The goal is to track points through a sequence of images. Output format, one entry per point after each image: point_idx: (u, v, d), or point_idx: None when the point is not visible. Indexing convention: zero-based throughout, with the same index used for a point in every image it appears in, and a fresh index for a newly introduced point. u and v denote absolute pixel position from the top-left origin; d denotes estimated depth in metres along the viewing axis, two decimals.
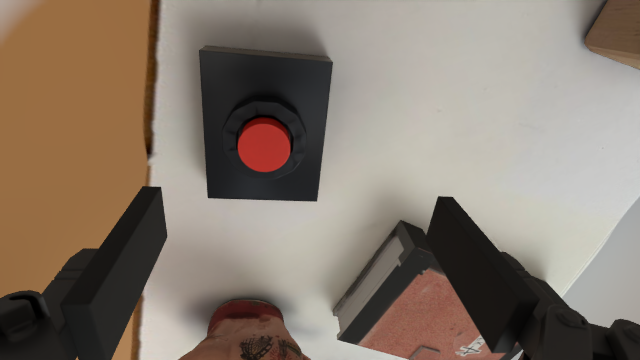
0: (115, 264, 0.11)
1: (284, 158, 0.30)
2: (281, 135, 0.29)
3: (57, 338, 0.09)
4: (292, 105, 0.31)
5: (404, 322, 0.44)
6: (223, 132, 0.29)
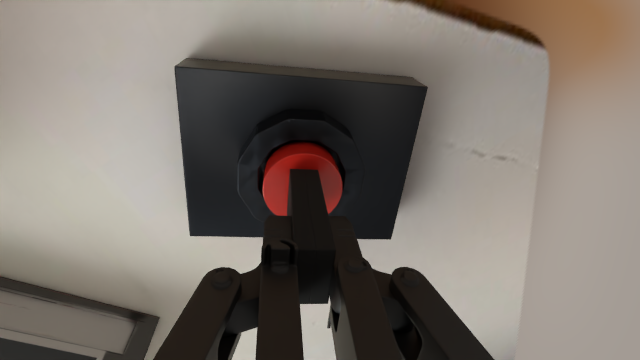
0: (312, 224, 0.14)
1: None
2: None
3: (296, 283, 0.11)
4: None
5: None
6: (320, 123, 0.18)
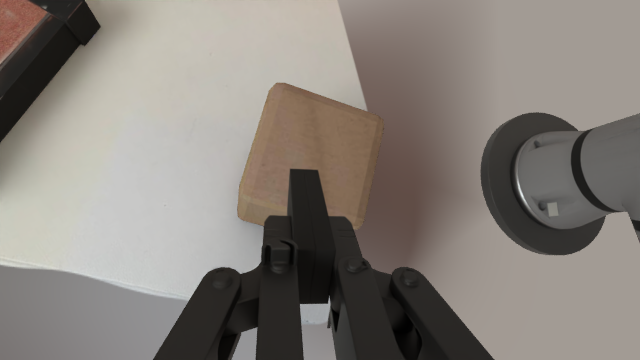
0: (311, 224, 0.14)
1: None
2: None
3: (296, 283, 0.11)
4: None
5: None
6: None
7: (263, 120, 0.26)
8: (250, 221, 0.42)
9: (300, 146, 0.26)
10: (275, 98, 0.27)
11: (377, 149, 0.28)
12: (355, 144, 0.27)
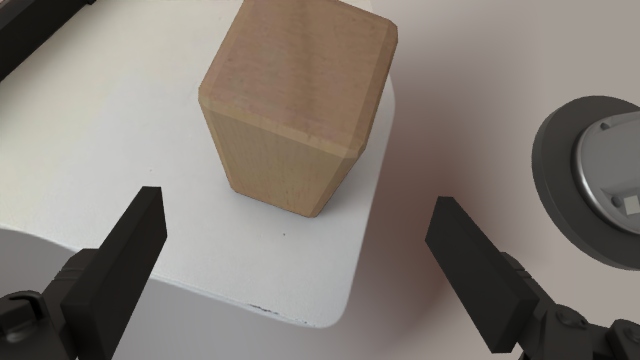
0: (115, 264, 0.11)
1: None
2: None
3: (57, 338, 0.09)
4: None
5: None
6: None
7: (237, 13, 0.20)
8: (243, 192, 0.35)
9: (282, 43, 0.20)
10: None
11: (387, 58, 0.21)
12: (356, 48, 0.21)
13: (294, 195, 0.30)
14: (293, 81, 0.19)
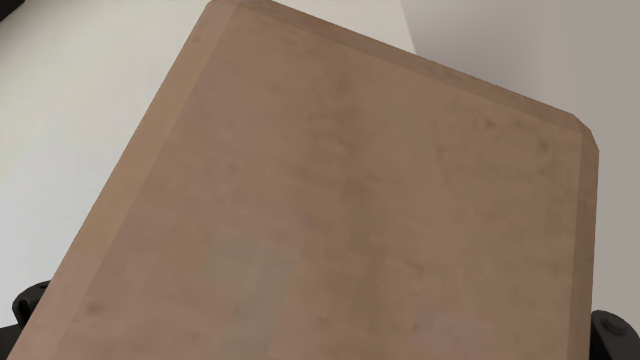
0: None
1: None
2: None
3: None
4: None
5: None
6: None
7: (146, 112, 0.07)
8: None
9: (283, 222, 0.06)
10: (205, 35, 0.07)
11: (590, 238, 0.07)
12: (510, 217, 0.07)
13: None
14: None
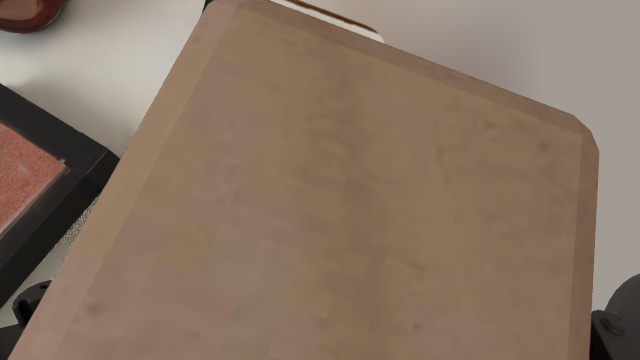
0: None
1: None
2: None
3: None
4: None
5: None
6: None
7: (146, 113, 0.07)
8: None
9: (283, 222, 0.06)
10: (206, 36, 0.07)
11: (590, 238, 0.07)
12: (510, 218, 0.07)
13: None
14: None
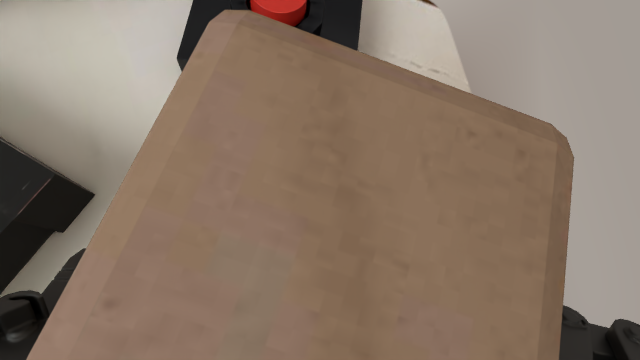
0: None
1: (264, 4, 0.25)
2: (293, 6, 0.26)
3: None
4: None
5: None
6: None
7: (154, 124, 0.07)
8: None
9: (280, 225, 0.07)
10: (208, 52, 0.08)
11: (563, 238, 0.08)
12: (489, 220, 0.07)
13: None
14: None
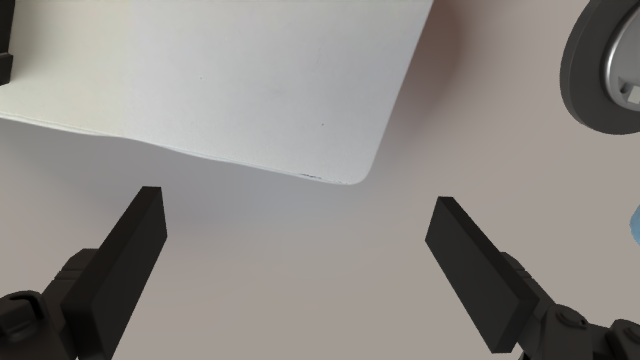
0: (115, 264, 0.11)
1: None
2: None
3: (57, 338, 0.09)
4: None
5: None
6: None
7: None
8: None
9: None
10: None
11: None
12: None
13: None
14: None
